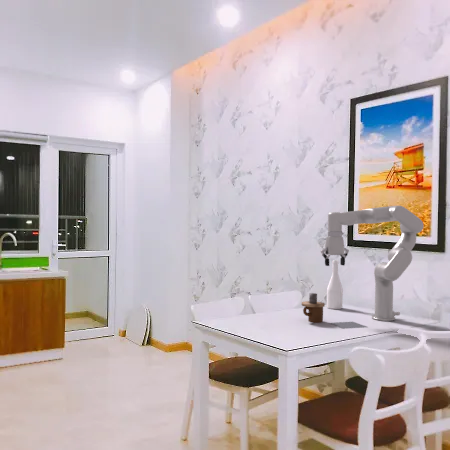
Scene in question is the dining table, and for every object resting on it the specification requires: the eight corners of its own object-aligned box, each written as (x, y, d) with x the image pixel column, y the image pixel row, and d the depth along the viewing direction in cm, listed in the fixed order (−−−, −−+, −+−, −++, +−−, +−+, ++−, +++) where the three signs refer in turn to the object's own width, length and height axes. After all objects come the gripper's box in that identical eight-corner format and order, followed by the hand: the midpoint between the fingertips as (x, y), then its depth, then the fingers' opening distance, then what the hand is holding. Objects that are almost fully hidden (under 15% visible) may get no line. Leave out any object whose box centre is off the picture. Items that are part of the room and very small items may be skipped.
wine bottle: (345, 308, 309) (346, 260, 309) (334, 309, 304) (335, 260, 304) (334, 306, 317) (335, 259, 317) (323, 307, 313) (324, 259, 312)
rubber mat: (352, 323, 265) (352, 321, 265) (368, 328, 251) (368, 327, 251) (327, 324, 260) (328, 322, 260) (342, 330, 247) (342, 328, 247)
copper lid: (317, 303, 270) (317, 291, 270) (328, 306, 259) (329, 295, 259) (297, 303, 266) (297, 292, 266) (308, 307, 255) (308, 295, 255)
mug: (307, 325, 257) (308, 307, 256) (298, 322, 263) (299, 304, 263) (325, 323, 262) (326, 305, 262) (316, 320, 269) (316, 303, 269)
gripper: (344, 234, 281) (344, 264, 281) (317, 234, 276) (317, 265, 276) (352, 234, 274) (352, 265, 274) (324, 235, 269) (324, 266, 269)
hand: (334, 265), depth 275 cm, fingers open, 9 cm apart
